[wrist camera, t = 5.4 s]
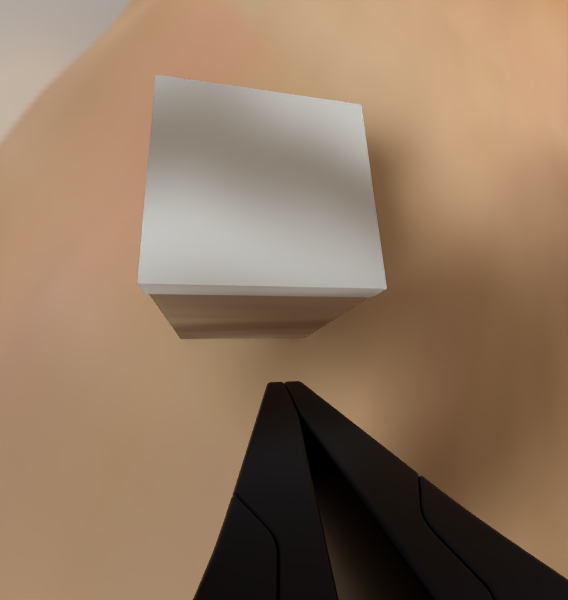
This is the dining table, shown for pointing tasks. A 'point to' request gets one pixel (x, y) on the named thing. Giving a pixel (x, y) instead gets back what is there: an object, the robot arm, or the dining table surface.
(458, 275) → the dining table surface
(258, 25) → the dining table surface
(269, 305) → the polished metal block
